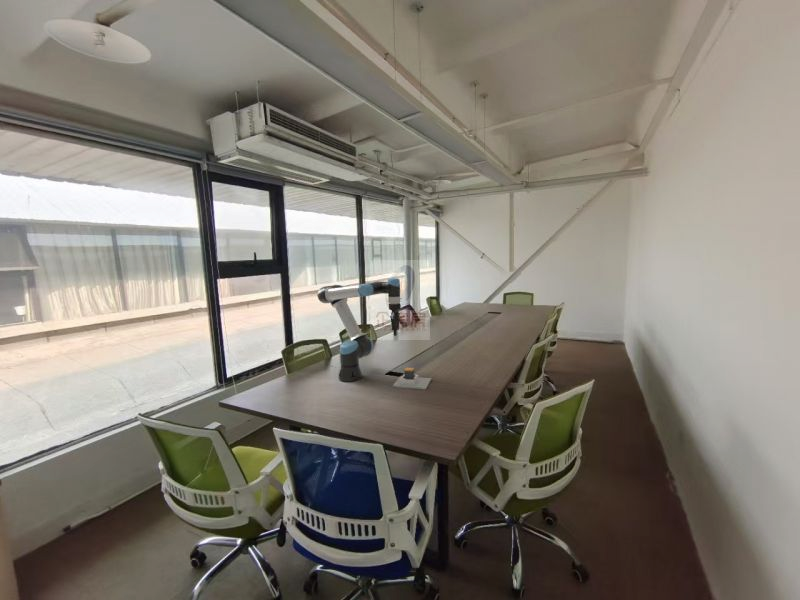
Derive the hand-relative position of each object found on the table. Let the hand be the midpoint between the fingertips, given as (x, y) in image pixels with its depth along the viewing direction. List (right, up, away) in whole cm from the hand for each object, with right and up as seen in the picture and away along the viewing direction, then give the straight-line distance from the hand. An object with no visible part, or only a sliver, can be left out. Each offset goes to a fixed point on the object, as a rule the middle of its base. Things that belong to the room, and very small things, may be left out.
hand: (396, 340), depth 212 cm
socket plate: (+10, -25, -8) cm, 28 cm away
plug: (+8, -24, -8) cm, 27 cm away
